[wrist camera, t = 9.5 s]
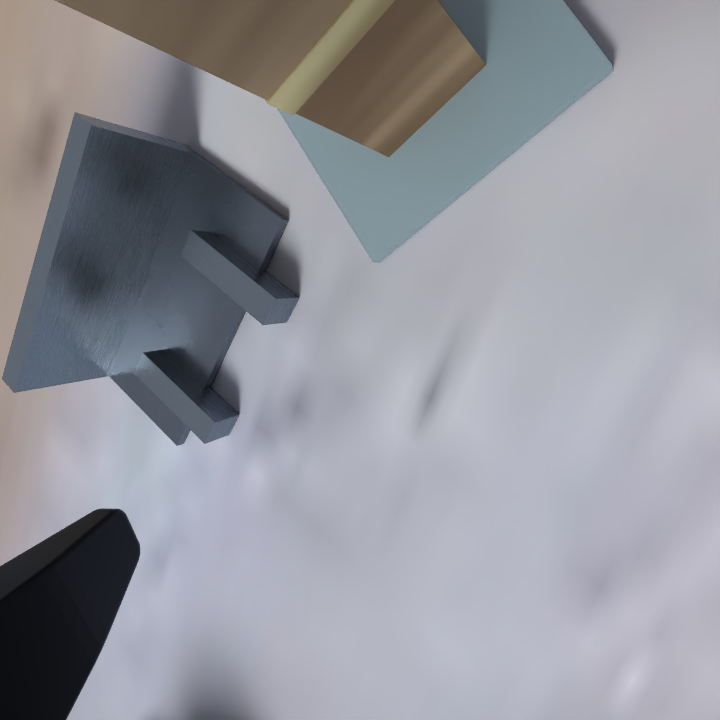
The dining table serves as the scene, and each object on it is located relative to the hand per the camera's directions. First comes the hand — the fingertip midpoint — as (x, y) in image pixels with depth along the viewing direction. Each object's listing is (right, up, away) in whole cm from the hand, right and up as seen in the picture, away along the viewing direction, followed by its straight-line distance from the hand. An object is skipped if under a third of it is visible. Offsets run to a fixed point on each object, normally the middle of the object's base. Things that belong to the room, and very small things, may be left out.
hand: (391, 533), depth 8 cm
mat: (+1, +12, +10) cm, 16 cm away
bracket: (-8, +5, +16) cm, 18 cm away
